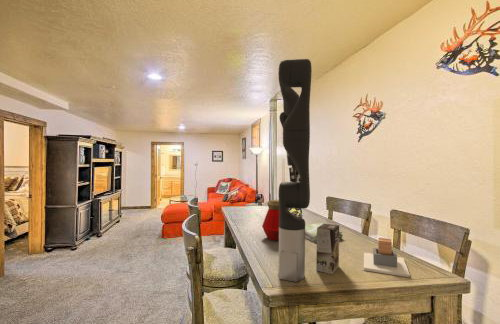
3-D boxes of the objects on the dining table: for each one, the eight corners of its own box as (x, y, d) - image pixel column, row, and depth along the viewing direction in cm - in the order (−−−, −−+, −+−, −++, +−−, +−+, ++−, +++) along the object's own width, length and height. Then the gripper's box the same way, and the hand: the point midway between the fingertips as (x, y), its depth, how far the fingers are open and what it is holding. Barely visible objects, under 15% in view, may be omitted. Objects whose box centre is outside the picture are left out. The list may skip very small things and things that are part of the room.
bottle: (295, 240, 138) (296, 201, 138) (275, 244, 131) (275, 203, 131) (276, 233, 151) (276, 197, 151) (256, 236, 144) (256, 199, 144)
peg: (391, 265, 104) (391, 242, 103) (378, 263, 105) (378, 240, 105) (390, 261, 108) (391, 238, 108) (378, 259, 109) (378, 237, 109)
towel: (314, 243, 134) (314, 233, 134) (293, 232, 154) (293, 223, 154) (344, 240, 140) (344, 230, 140) (321, 230, 160) (321, 221, 160)
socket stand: (409, 277, 95) (409, 263, 95) (363, 270, 101) (363, 256, 101) (403, 260, 112) (403, 248, 112) (363, 254, 118) (364, 243, 118)
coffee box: (333, 274, 97) (333, 230, 97) (315, 270, 100) (316, 227, 100) (339, 266, 105) (340, 224, 105) (323, 263, 108) (323, 222, 108)
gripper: (298, 152, 113) (302, 191, 112) (307, 154, 125) (311, 189, 124) (281, 154, 116) (285, 192, 115) (292, 156, 129) (295, 190, 128)
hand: (298, 190), depth 120 cm, fingers open, 8 cm apart
